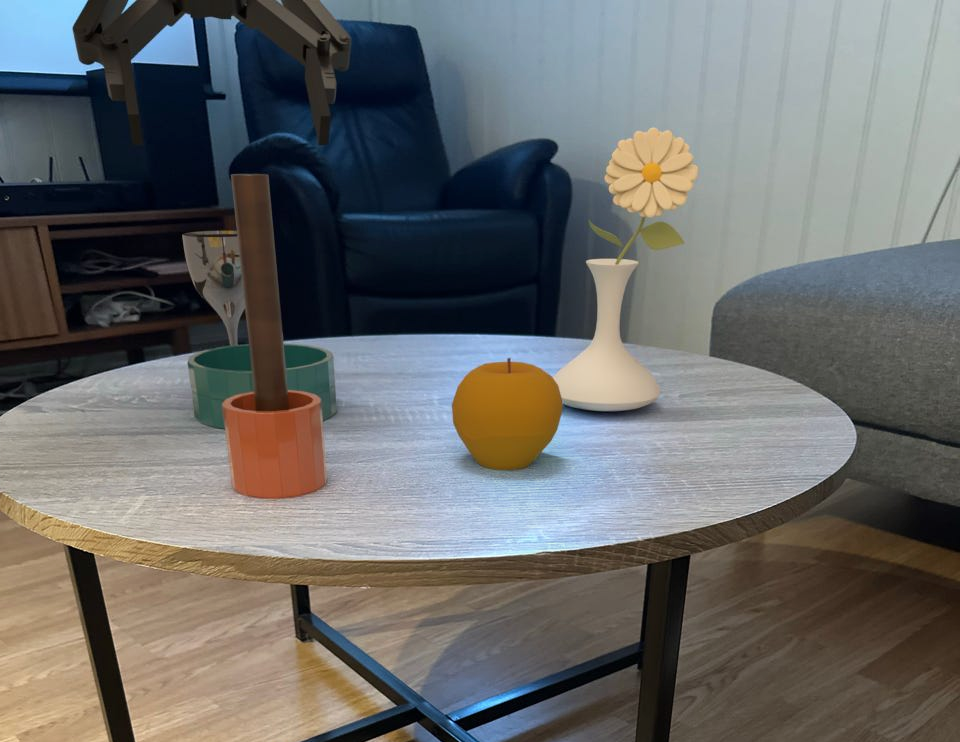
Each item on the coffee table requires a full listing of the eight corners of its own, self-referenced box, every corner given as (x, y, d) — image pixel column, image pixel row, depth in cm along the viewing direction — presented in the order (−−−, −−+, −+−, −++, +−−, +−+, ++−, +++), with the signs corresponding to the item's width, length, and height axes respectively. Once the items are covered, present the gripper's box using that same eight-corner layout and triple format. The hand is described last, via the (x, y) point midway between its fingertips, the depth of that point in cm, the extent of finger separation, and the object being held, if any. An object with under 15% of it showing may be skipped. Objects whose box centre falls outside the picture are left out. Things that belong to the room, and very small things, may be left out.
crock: (215, 493, 71) (203, 401, 68) (289, 472, 76) (281, 385, 73) (271, 515, 67) (261, 418, 64) (346, 492, 72) (340, 400, 68)
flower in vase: (529, 412, 93) (538, 126, 81) (569, 388, 102) (582, 128, 90) (657, 428, 88) (687, 126, 76) (687, 401, 97) (717, 128, 86)
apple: (577, 483, 74) (584, 367, 70) (467, 492, 72) (467, 373, 68) (541, 451, 82) (545, 345, 77) (441, 458, 79) (439, 350, 75)
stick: (254, 481, 71) (219, 174, 61) (280, 474, 73) (250, 173, 63) (280, 491, 69) (248, 175, 60) (305, 483, 71) (279, 174, 61)
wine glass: (252, 366, 112) (237, 229, 104) (285, 378, 106) (272, 234, 99) (189, 375, 107) (169, 233, 100) (220, 388, 102) (201, 238, 95)
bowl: (169, 421, 90) (159, 356, 87) (281, 397, 98) (276, 338, 95) (251, 448, 82) (243, 378, 79) (365, 419, 90) (361, 356, 88)
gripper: (345, -29, 81) (391, 169, 76) (35, -45, 75) (61, 170, 69) (353, -120, 74) (404, 90, 69) (12, -147, 68) (39, 83, 62)
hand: (232, 131), depth 69 cm, fingers open, 13 cm apart
